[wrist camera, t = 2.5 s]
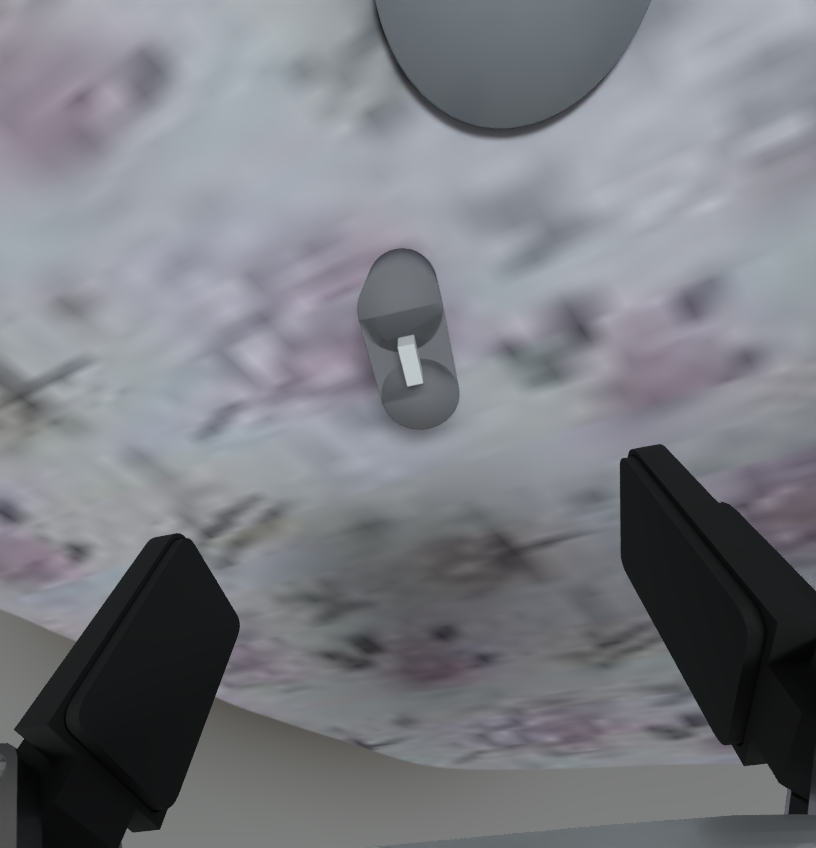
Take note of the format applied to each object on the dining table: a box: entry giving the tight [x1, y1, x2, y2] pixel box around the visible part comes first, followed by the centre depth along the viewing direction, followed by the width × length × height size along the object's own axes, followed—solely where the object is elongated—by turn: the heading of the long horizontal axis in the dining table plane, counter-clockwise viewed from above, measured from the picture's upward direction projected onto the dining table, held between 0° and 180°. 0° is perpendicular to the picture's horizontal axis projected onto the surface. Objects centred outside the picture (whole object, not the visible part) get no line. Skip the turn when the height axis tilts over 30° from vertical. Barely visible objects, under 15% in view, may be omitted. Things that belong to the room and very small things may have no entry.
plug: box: [357, 248, 459, 429], centre depth 22 cm, size 8×4×6 cm, turn 13°
